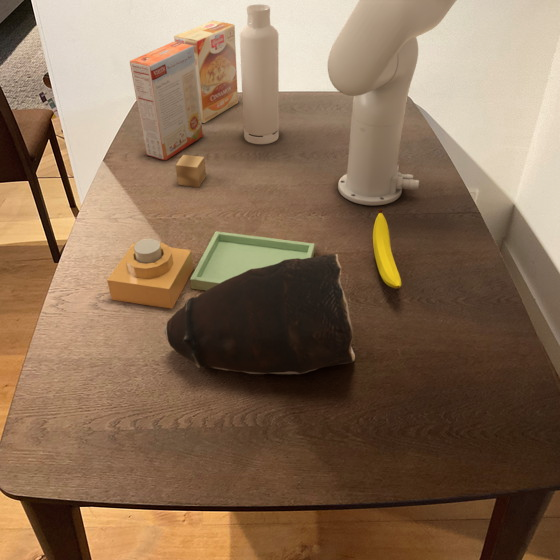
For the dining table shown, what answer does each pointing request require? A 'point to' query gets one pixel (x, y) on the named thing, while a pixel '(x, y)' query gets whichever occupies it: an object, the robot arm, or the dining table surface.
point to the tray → (243, 256)
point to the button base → (151, 278)
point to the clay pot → (268, 320)
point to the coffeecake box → (213, 66)
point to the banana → (384, 252)
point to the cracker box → (167, 99)
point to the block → (190, 170)
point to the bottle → (260, 76)
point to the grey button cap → (148, 251)
